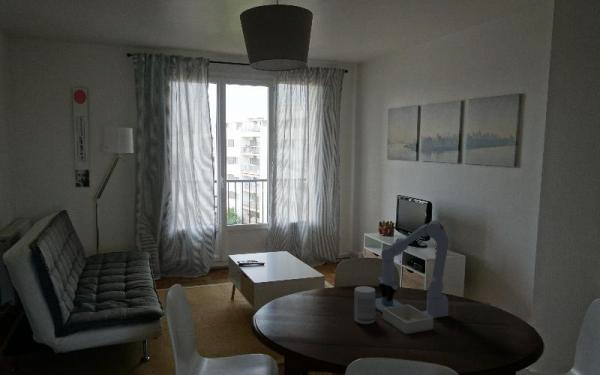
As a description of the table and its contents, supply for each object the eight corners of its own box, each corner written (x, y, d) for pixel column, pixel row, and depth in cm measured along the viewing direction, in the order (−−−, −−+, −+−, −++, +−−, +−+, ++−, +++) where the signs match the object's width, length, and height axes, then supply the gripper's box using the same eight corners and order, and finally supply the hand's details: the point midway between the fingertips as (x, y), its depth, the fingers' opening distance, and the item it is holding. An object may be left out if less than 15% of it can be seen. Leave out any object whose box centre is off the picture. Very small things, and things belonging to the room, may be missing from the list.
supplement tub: (379, 322, 203) (380, 290, 202) (363, 326, 198) (364, 294, 197) (365, 315, 211) (365, 284, 210) (349, 319, 206) (350, 288, 205)
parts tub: (408, 314, 212) (408, 304, 212) (432, 329, 196) (433, 318, 195) (382, 318, 207) (383, 308, 207) (405, 334, 191) (406, 322, 190)
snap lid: (389, 300, 233) (389, 290, 233) (410, 312, 216) (410, 301, 216) (365, 303, 228) (365, 293, 227) (384, 316, 211) (385, 305, 211)
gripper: (373, 269, 226) (372, 295, 227) (389, 277, 212) (388, 305, 213) (385, 268, 228) (384, 294, 229) (401, 275, 215) (400, 303, 216)
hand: (387, 299), depth 222 cm, fingers open, 4 cm apart
